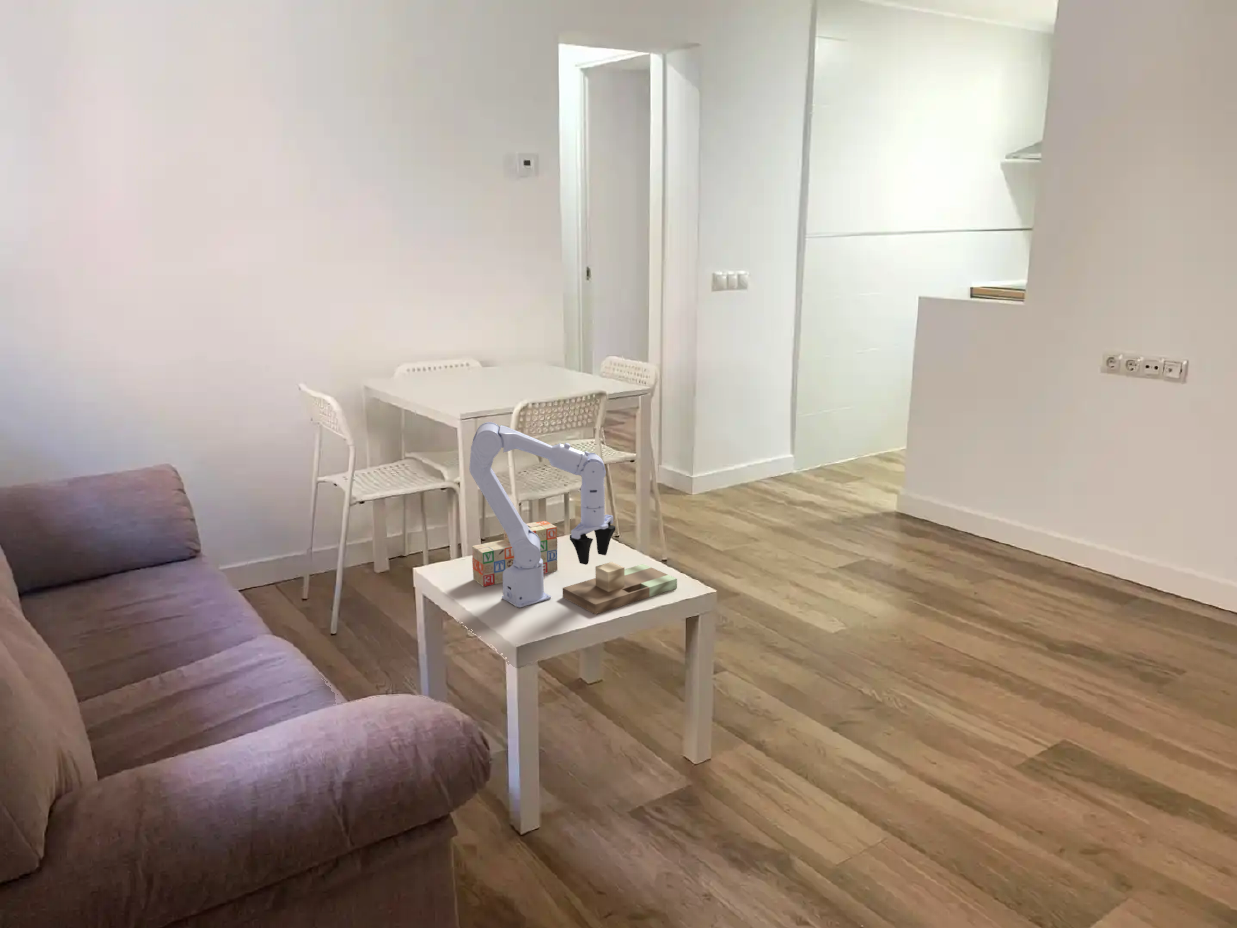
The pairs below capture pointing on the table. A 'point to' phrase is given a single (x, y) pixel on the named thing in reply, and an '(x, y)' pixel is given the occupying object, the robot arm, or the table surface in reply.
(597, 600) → the trap board
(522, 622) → the table surface
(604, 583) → the maple block
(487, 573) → the stack of blocks
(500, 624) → the table surface
